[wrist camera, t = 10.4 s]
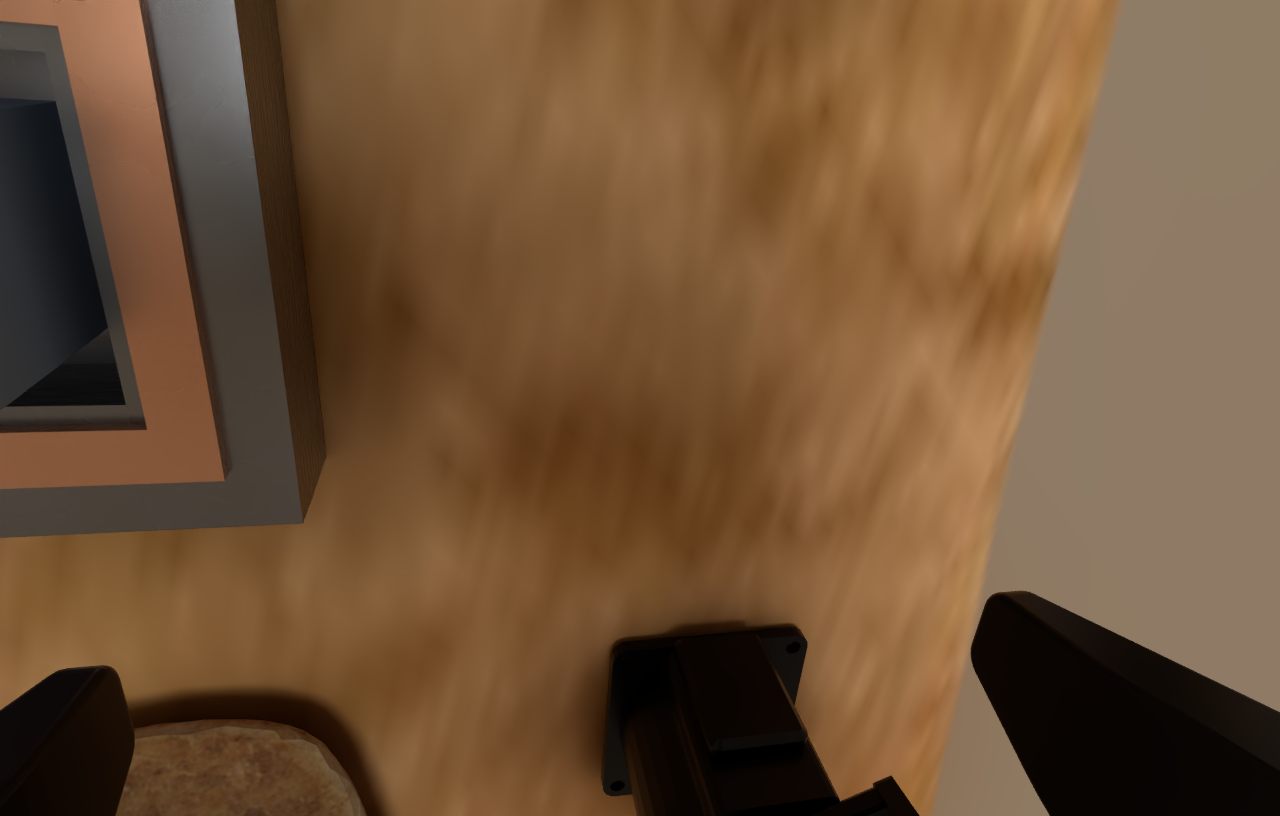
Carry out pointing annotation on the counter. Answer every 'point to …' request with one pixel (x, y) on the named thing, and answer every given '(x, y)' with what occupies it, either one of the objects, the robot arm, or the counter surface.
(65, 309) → the slate gray peg
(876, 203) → the counter surface
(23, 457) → the socket plate
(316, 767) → the stone cup
